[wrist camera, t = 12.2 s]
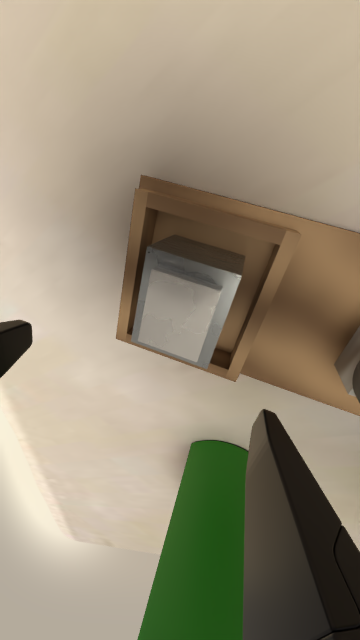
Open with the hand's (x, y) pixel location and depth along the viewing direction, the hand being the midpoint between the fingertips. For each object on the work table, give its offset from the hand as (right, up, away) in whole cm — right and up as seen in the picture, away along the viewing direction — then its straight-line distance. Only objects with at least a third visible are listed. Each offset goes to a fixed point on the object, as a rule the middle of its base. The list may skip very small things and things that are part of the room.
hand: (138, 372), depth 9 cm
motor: (+7, -15, +19) cm, 25 cm away
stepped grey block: (+3, +4, +9) cm, 11 cm away
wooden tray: (+9, +3, +10) cm, 13 cm away
